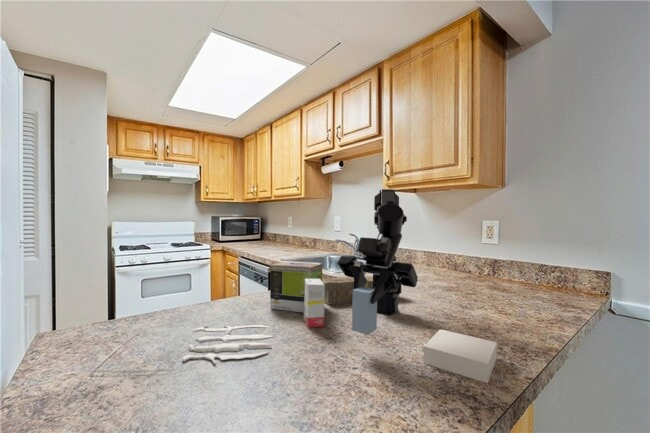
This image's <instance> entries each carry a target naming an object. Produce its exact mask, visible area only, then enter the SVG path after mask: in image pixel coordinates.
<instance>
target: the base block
mask: <svg viewBox="0 0 650 433" xmlns="http://www.w3.org/2000/svg"><path fill="white" fill-rule="evenodd" d="M497 345H498V344H497V342H496V341H492V340H488V339H483V338H479V337H475V336H471V335H467V334H462V333H458V332H453V331H449V330H444V329H442V328H441V329H438V331H436V333H435V334H434V335H433V336H432V337H431V338H430V339H429V340H427V342H426V343H425V344H424V345H423V362H422V363H423V364H425V365H427V366H431V367H435V368H437V369H440V370H444V371H447V372H451V373H454V374H456V375H460V376H464V377H466V378H469V379H473V380H476V381H479V382H483V383H486V384H488V383H489V380H490V378H491V374H492V372H493V370H494V367H495V364H496V362H497V356H498V354H497V351H498V348H497Z"/></svg>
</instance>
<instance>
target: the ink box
mask: <svg viewBox="0 0 650 433" xmlns="http://www.w3.org/2000/svg"><path fill="white" fill-rule="evenodd" d="M324 294H325V285H324V284H323V282H322V281H321V279H305V296H304V312H303V319H304V322H305V324H306V327H307V328H319V327H320V328H323V327H325V301H324Z"/></svg>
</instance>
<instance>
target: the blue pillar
mask: <svg viewBox="0 0 650 433" xmlns="http://www.w3.org/2000/svg"><path fill="white" fill-rule="evenodd" d="M373 292H374V289H372V288H367V287H359V288H357V289H354V290H353V301H352V302H351V303H352V310H351V313H352V314H351V315H352V316H351V317H352V319H351V322H352V323H351V331H353V332H356V333H360V334H364V335H367V336H368V335H370V334H371V333H373V332H375V331H376V330H378V329H377V328H378V327H377V325H378V324H377V322H378V318H377V317H378V312H377V301H376V302H375V303H374V304H371V302H370V300H371V297H372V294H373Z"/></svg>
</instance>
